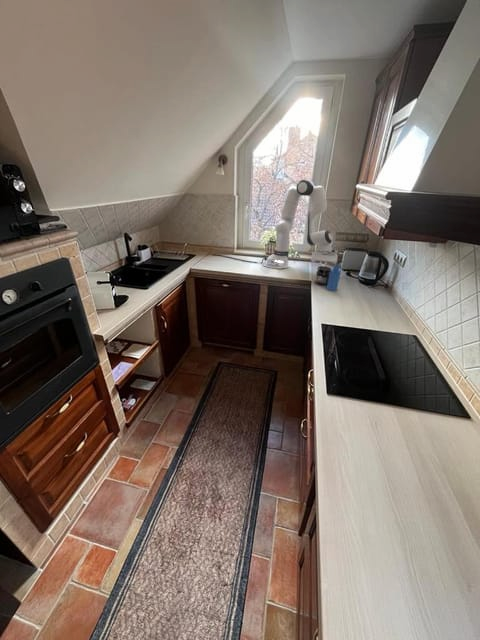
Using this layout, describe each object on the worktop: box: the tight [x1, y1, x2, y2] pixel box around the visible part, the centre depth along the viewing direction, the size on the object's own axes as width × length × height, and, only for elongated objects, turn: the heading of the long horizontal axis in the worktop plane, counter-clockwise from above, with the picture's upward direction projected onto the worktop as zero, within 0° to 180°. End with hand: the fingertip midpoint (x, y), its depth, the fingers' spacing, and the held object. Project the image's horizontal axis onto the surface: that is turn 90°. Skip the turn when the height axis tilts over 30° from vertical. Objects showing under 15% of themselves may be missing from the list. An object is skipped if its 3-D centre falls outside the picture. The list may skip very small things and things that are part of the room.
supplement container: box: [314, 265, 332, 286], centre depth 190 cm, size 10×10×12 cm
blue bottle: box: [326, 263, 342, 292], centre depth 179 cm, size 7×7×18 cm
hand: (322, 267), depth 202 cm, fingers closed
